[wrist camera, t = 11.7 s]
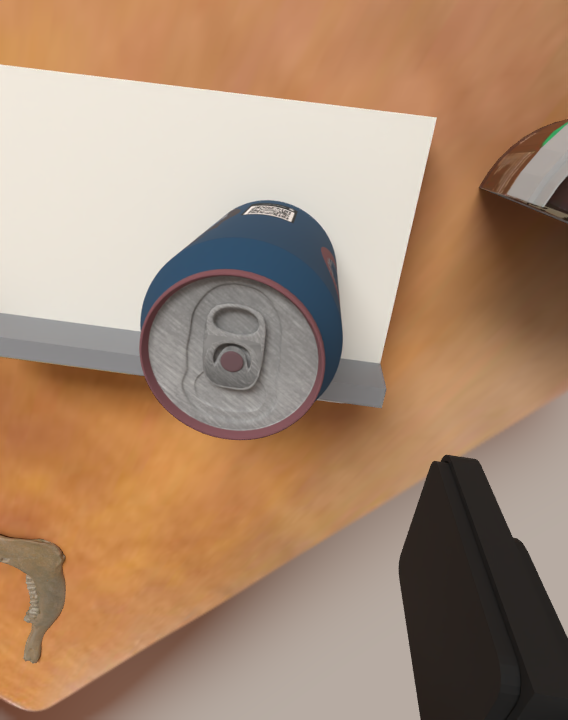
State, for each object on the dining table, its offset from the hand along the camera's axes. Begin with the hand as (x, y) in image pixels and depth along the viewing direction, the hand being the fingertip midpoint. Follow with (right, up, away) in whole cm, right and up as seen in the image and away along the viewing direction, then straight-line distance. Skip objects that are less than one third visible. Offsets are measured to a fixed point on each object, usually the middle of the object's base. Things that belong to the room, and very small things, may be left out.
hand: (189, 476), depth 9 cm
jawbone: (-25, -20, +36) cm, 48 cm away
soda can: (+1, +8, +16) cm, 18 cm away
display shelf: (-4, +10, +18) cm, 21 cm away
